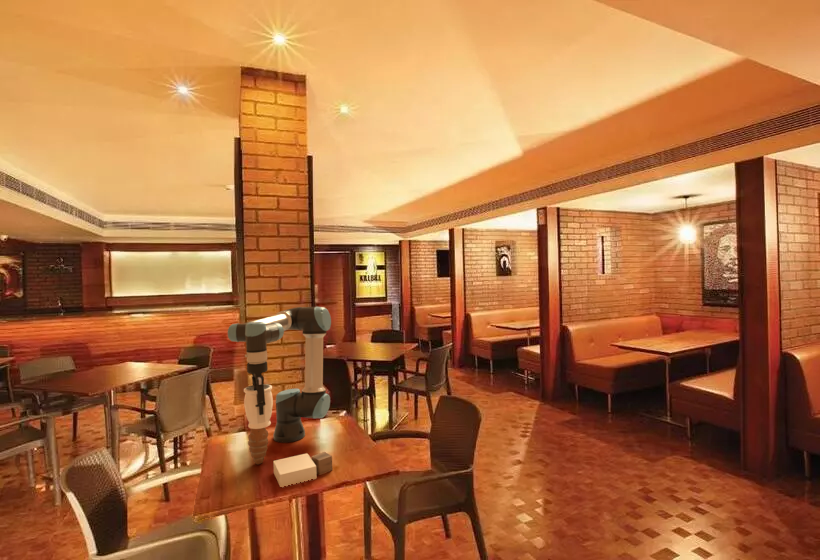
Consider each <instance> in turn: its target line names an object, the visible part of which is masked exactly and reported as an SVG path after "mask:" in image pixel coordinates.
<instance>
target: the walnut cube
mask: <svg viewBox="0 0 820 560" xmlns="http://www.w3.org/2000/svg"><path fill="white" fill-rule="evenodd" d="M311 459H312V461H313V462H314V464H315V465H316V473H317V475H319V476H321V475H325V474H326V473H328V472H331V471H333V455H331V454H329V453H327V452H325V451H322V452H319V453H317V454H314V455H311Z"/></svg>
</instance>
